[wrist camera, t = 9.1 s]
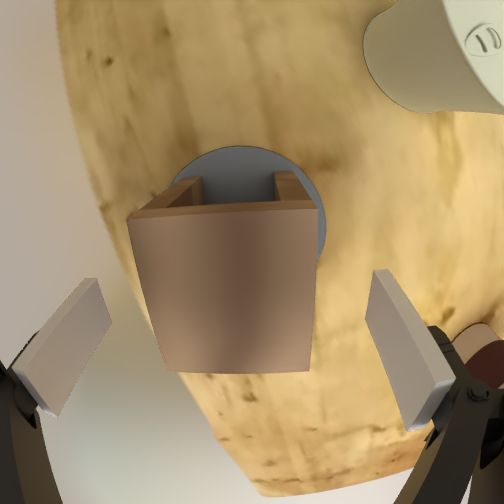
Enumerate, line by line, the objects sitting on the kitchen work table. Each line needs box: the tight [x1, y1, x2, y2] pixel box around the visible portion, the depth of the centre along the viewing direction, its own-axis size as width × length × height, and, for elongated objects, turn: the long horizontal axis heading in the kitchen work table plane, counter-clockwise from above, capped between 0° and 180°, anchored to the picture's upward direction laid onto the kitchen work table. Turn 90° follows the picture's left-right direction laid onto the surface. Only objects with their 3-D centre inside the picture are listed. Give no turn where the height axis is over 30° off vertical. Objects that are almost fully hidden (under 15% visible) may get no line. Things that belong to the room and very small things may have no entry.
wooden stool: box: [127, 171, 318, 374], centre depth 18 cm, size 8×9×10 cm
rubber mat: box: [169, 146, 326, 262], centre depth 23 cm, size 13×13×1 cm
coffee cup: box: [452, 324, 504, 389], centre depth 21 cm, size 10×10×15 cm
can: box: [363, 0, 504, 115], centre depth 11 cm, size 9×9×12 cm
